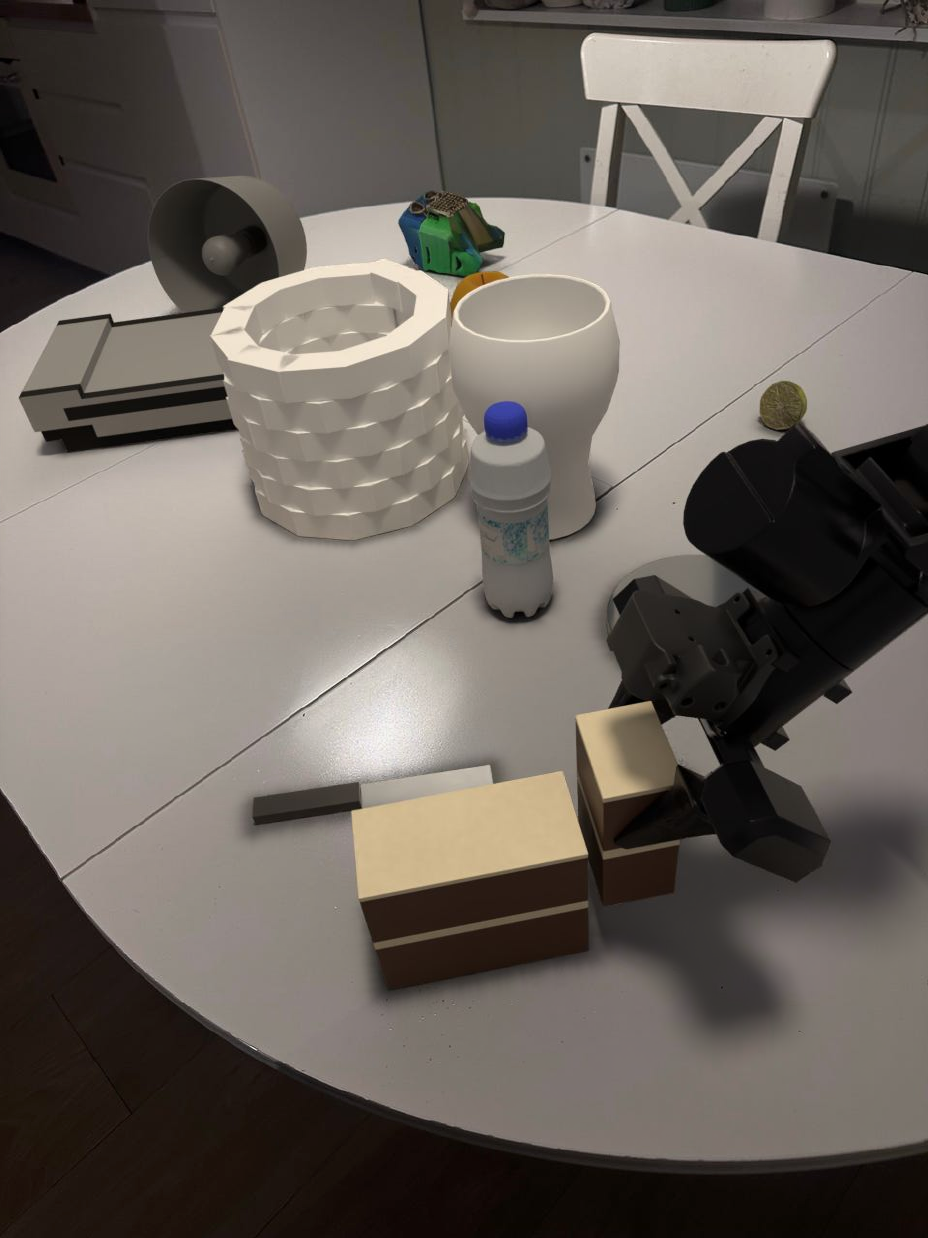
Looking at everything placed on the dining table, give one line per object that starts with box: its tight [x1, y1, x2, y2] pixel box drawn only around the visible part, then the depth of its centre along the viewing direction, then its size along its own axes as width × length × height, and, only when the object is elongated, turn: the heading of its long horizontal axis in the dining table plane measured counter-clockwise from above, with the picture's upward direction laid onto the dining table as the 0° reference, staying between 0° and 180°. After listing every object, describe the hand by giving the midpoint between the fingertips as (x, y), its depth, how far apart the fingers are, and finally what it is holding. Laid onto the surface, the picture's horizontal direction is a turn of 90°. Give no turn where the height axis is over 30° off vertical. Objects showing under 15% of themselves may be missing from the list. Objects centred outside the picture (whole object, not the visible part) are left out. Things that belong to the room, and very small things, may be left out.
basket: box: [210, 258, 470, 541], centre depth 96 cm, size 25×24×19 cm
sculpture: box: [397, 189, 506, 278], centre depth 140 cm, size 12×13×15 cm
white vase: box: [449, 273, 621, 541], centre depth 87 cm, size 15×15×22 cm
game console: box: [18, 308, 238, 453], centre depth 116 cm, size 21×32×8 cm, turn 96°
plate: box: [606, 554, 765, 635], centre depth 79 cm, size 16×16×1 cm
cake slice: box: [574, 701, 681, 908], centre depth 54 cm, size 4×6×11 cm
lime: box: [759, 380, 808, 431], centre depth 100 cm, size 4×5×5 cm
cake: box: [350, 770, 590, 991], centre depth 57 cm, size 13×6×11 cm, turn 99°
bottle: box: [468, 401, 554, 618], centre depth 77 cm, size 7×7×20 cm
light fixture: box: [147, 175, 308, 313], centre depth 137 cm, size 20×25×27 cm
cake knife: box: [251, 764, 495, 825], centre depth 69 cm, size 18×2×1 cm, turn 96°
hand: (603, 799), depth 54 cm, fingers closed on cake slice, 6 cm apart
